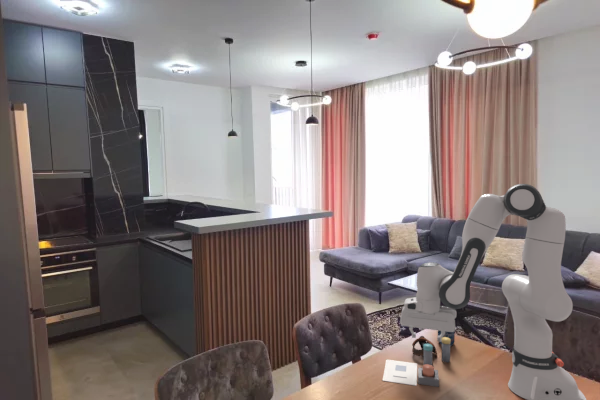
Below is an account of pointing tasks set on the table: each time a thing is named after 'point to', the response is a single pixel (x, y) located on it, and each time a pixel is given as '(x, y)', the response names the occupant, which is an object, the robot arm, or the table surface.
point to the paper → (400, 372)
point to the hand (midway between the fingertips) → (426, 339)
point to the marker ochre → (446, 349)
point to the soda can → (449, 335)
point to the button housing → (428, 378)
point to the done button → (428, 370)
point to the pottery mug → (422, 341)
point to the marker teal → (428, 353)
